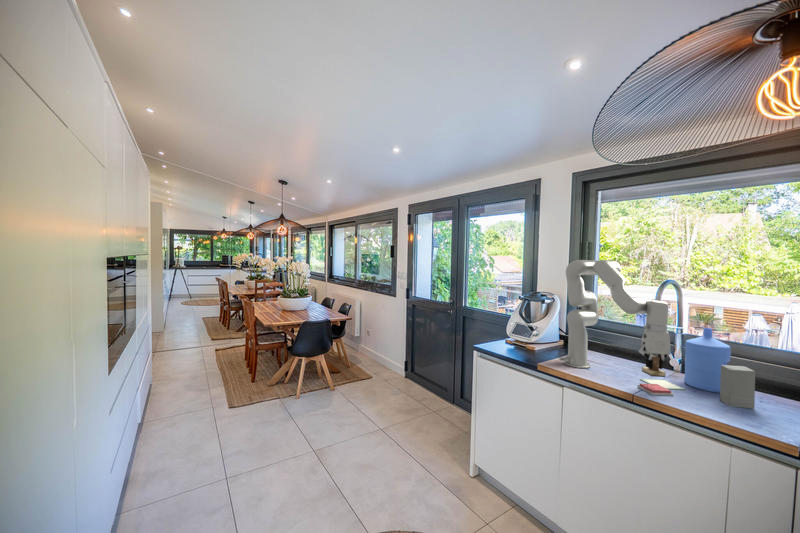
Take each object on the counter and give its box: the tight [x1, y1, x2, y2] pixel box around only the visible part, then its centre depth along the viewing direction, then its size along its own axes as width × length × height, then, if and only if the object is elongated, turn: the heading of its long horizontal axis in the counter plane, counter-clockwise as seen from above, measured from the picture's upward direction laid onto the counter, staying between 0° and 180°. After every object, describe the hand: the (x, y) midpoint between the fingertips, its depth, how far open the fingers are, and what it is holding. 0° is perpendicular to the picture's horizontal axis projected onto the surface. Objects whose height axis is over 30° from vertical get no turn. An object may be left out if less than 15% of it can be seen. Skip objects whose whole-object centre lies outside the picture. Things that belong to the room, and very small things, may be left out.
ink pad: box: [637, 383, 674, 397], centre depth 144 cm, size 9×9×2 cm
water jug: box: [683, 327, 732, 394], centre depth 151 cm, size 16×16×28 cm
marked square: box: [639, 378, 686, 391], centre depth 152 cm, size 12×12×1 cm
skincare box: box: [719, 364, 756, 410], centre depth 131 cm, size 8×7×16 cm
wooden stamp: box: [641, 354, 667, 378], centre depth 144 cm, size 6×6×8 cm
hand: (653, 367), depth 144 cm, fingers closed on wooden stamp, 3 cm apart
